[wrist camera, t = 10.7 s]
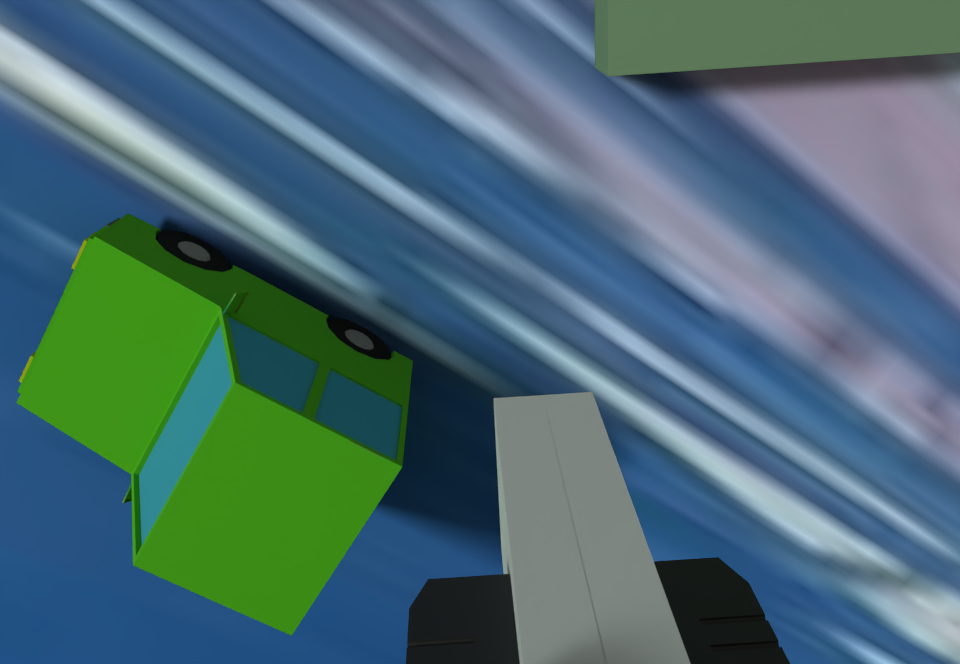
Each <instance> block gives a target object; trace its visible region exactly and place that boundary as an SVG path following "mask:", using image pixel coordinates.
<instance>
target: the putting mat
mask: <svg viewBox="0 0 960 664" xmlns="http://www.w3.org/2000/svg"><path fill="white" fill-rule="evenodd" d="M946 53H960V0H595V68H596V69H597V70H599V71H600V72H602V73H604V74H605V75H607V76H620V75H635V74H649V73H664V72H679V71H694V70H709V69H724V68H738V67H753V66H768V65H783V64H798V63H812V62H827V61H842V60H857V59H872V58H887V57H901V56H916V55H931V54H946Z"/></svg>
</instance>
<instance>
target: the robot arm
mask: <svg viewBox="0 0 960 664" xmlns="http://www.w3.org/2000/svg"><path fill="white" fill-rule="evenodd" d="M493 399H494V418H495V437H496V456H497V475H498V494H499V513H500V532H501V551H502V561H503V571H504V574H501V575H486V576H470V577H455V578H440V579H428V581H427V582H426V584H425V585H424V587H423V588H422V590H421V591H420V593H419V594H418V596H417V597H416V599H415V600H414V602H413V604H412V605H411V607H410V608H409V623H408V640H407V642H408V648H407V656H406V664H790V663H789V661H788V659H787V657H786V655H785V653H784V651H783V649H782V647H779V645H778V639H777V637H776V635H775V633H774V631H773V629H772V628H771V626H770V624H769V622H768V621H766V620H765V614H764V612H763V610H762V608H761V606H760V604H759V602H758V600H757V598H756V596H755V594H754V592H753V590H752V588H751V586H750V584H749V583H748V582H747V581H746V580H745V579H743V578H742V577H741V576H740V575H739V574H737V573H736V572H735V571H734V570H733V569H731V568H730V567H729V566H728V565H727V564H725V563H724V562H723V561H722V560H721V559H719V558H718V557H717V558H702V559H686V560H671V561H656V562H654V561H653V559H652V556H651V553H650V550H649V548H648V545H647V542H646V539H645V537H644V534H643V531H642V528H641V526H640V523H639V520H638V517H637V515H636V512H635V509H634V506H633V503H632V501H631V498H630V495H629V492H628V490H627V487H626V484H625V481H624V479H623V476H622V473H621V470H620V468H619V465H618V462H617V459H616V457H615V454H614V451H613V448H612V446H611V443H610V440H609V437H608V434H607V432H606V429H605V426H604V423H603V421H602V418H601V415H600V412H599V410H598V407H597V404H596V401H595V399H594V396H593V393H592V392H585V393H569V394H553V395H537V396H521V397H506V398H493Z"/></svg>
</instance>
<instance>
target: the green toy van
mask: <svg viewBox="0 0 960 664" xmlns="http://www.w3.org/2000/svg"><path fill="white" fill-rule="evenodd" d="M160 230H161V229H159V228H157V227H155V226H153V225H151V224H148V223H146V222H144V221H142V220H140V219H138V218H136V217H134V216H132V215H130V214H127V215H125V216H124V217H122V218H121V219H120V218H118V219H116V220H114V221H113V222H111V223H109V224H107V226H105V227H103V228H102V229H100V230H99V231H98V232H95V233H93V234H92V235H90V236H89V237H88V238H86V239H85V240H84V242H83V244H82V246H81V248H80V250H79V253H78V255H77V257H76V259H75V261H74V263H73V266H72V269H74V271H73V273H72V275H71V277H70V280H69V282H68V284H67V286H66V288H65V290H64V293H63V295H62V297H61V299H60V301H59V303H58V305H57V308H56V310H55V312H54V314H53V316H52V318H51V320H50V323H49V325H48V327H47V329H46V331H45V333H44V335H43V338H42V340H41V342H40V344H39V346H38V348H37V350H36V351H35V352H34V353H33V354H32V355H31V356H30V358H29V360H28V362H27V365H26V367H25V369H24V371H23V373H22V375H21V378H20V380H19V382H21V385H20V387H19V389H18V391H17V392H18V393H20V394H21V395H20V397H19V399H18V401H17V403H18V404H19V405H21V406H23V407H24V408H26V409H27V410H29V411H31V412H32V413H34V414H35V415H37V416H39V417H40V418H42V419H43V420H45V421H47V422H48V423H50V424H51V425H53V426H55V427H56V428H58V429H59V430H61V431H63V432H64V433H66V434H67V435H69V436H70V437H72V438H74V439H75V440H77V441H78V442H80V443H82V444H83V445H85V446H86V447H88V448H90V449H91V450H93V451H94V452H96V453H98V454H99V455H101V456H102V457H104V458H106V459H107V460H109V461H110V462H112V463H114V464H115V465H117V466H118V467H120V468H122V469H123V470H125V471H126V472H128V473H130V474H131V485H130V487H129V489H128V491H127V493H126V496H125V498H124V500H123V503H126V502H129V501H132V534H133V565H134V566H136V567H138V568H140V569H143V570H145V571H147V572H149V573H152V574H154V575H156V576H158V577H161V578H163V579H165V580H167V581H170V582H172V583H174V584H176V585H179V586H181V587H183V588H185V589H188V590H190V591H192V592H194V593H197V594H199V595H201V596H203V597H206V598H208V599H210V600H212V601H215V602H217V603H219V604H222V605H224V606H226V607H228V608H231V609H233V610H235V611H237V612H240V613H242V614H244V615H246V616H249V617H251V618H253V619H255V620H258V621H260V622H262V623H264V624H267V625H269V626H271V627H273V628H276V629H278V630H280V631H282V632H285V633H287V634H289V635H291V636H292V634H293V633H294V631H295V630H296V628H297V626H298V625H299V623H300V622H301V620H302V619H303V617H304V616H305V614H306V613H307V611H308V610H309V608H310V607H311V605H312V604H313V602H314V601H315V599H316V598H317V596H318V595H319V593H320V591H321V590H322V588H323V587H324V585H325V584H326V582H327V581H328V579H329V578H330V576H331V575H332V573H333V572H334V570H335V569H336V567H337V566H338V564H339V563H340V561H341V560H342V558H343V557H344V555H345V553H346V552H347V550H348V549H349V547H350V546H351V544H352V543H353V541H354V540H355V538H356V537H357V535H358V534H359V532H360V531H361V529H362V528H363V526H364V525H365V523H366V522H367V520H368V519H369V517H370V515H371V514H372V512H373V511H374V509H375V508H376V506H377V505H378V503H379V502H380V500H381V499H382V497H383V496H384V494H385V493H386V491H387V490H388V488H389V487H390V485H391V484H392V482H393V480H394V479H395V477H396V476H397V474H398V473H399V471H400V470H401V468H402V466H403V456H404V446H405V436H406V426H407V416H408V405H409V395H410V385H411V375H412V365H413V361H412V360H410V359H409V358H407V357H405V356H403V355H401V354H399V353H397V352H396V351H393V352H392V354H391V355H390V352H389V349H388V347H387V346H386V345H385V344H384V343H383V342H382V341H381V340H380V338H379V337H378V336H376V335H375V334H373V333H372V332H370V331H368V330H367V329H365V328H363V327H361V326H359V325H357V324H355V323H353V322H351V321H348V320H343V319H335V318H333V319H332V320H330V321H329V322H327V321H326V320H327V318H328V315H327V314H325V313H323V312H321V311H319V310H317V309H315V308H314V307H312V306H310V305H308V304H306V303H304V302H302V301H300V300H299V299H297V298H295V297H293V296H291V295H289V294H287V293H286V292H284V291H282V290H280V289H278V288H276V287H274V286H273V285H271V284H269V283H267V282H265V281H263V280H261V279H260V278H258V277H256V276H254V275H252V274H250V273H248V272H246V271H244V270H242V269H240V268H238V267H236V266H234V265H233V266H232V268H231V269H230V270H229V262H228V261H227V259H226V258H225V257H224V256H223V255H222V254H221V253H220V251H218V250H217V249H215V248H214V247H212V246H211V245H209V244H207V243H205V242H203V241H201V240H200V239H198V238H196V237H193V236H191V235H189V234H186V233H182V232H176V231H171V230H168V231H164V232H160ZM159 232H160V233H159Z"/></svg>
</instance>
